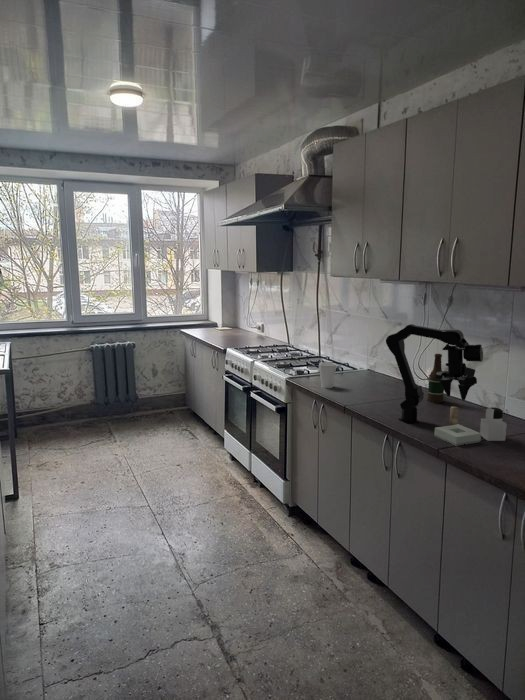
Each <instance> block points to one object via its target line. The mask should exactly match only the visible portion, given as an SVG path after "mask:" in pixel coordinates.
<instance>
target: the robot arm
mask: <svg viewBox="0 0 525 700" xmlns="http://www.w3.org/2000/svg"><path fill="white" fill-rule="evenodd" d="M411 335H412V336H418V337H419V336H420V337H424V338H429V339H433V340H434V339H435V340H438V341H440V342H443V343H445V346H443V348H441V349H442V351H447V363H445V367H447V370H442V371H440V372H437V373H436V379H438V381H439V382H440V384H441V385H442V387H443V389H444V392H445V394H446V396H447V397H451V387H452V383H453V381H457V383H459V384H458V385H457V387H458V391H459V394H460V397H461V401H462V402H463V401H466V398H467V395H468V392H469V390H470V388H471V387H473V386H474V385H476V384H477V383H478V379H477V377H476V376H475V374H476V369H475V368H472V367H468V366H467V364H466V363H465V362H464V360H466V362H476V363H477V362H483V360H484V351H483V348H482V347H483V346H482V344H479V343H478V344H470V343H469V342H468V341H467V340H466V338H465V337H464V333H463V332H462V330H460V329H438V328H432V327H427V326H421V325H415V324H414V323H413V324H407V325H406V326H405V327H404V328H402V329H400V330H398V331H397V332H395V333H392V334H389V335H388V336H386V339H385V344H386V346H387V348H388V350H389V352H391V353H392V355H393V356H394V358H395V362H396V365H397V368H398V370H399V373H400V376H401V378H402V383H403V385H404V397H405V399H404V400H403V401H402V402H401V403H400V404H399V406H400V408H401V417H400V418H398V420H399V421H401V422H404V423H406V424H414V423H420V420H419V419H418V408H417V407H418V406H419V405H420V404H421V403H422V402H423V400H424V396H425V393H424V391H423V387H422V385H419V386H418V384H417V383H416V382H415V379H414V375H413V373H412V370H411V367H410V364H409V362H408V358H407V356H406V352H405V347H406V346H405V344H406V343H405V340H406V339H408V338H409V337H410V336H411Z"/></svg>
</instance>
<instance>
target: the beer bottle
mask: <svg viewBox="0 0 525 700" xmlns="http://www.w3.org/2000/svg"><path fill="white" fill-rule="evenodd" d="M442 357H443V354H441V353H435V354H434V360H433V361H434V363H433V369H432V370H431V372H430V374H429V378H428V390H427V402H429V401H430V402H429V403H432V402H433V403H432V404H442V403H443V402H444V395H445V394H444V392H445V391H444V389H443V387H442V385H441V384H440V382H439V381H438V379H436V373H437V372H440V371H443V369H442ZM441 402H442V403H441Z"/></svg>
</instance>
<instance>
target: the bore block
mask: <svg viewBox="0 0 525 700" xmlns="http://www.w3.org/2000/svg"><path fill="white" fill-rule="evenodd" d="M434 437H435V438H437V439H440V440H442V441H444V442H446V441H447V443H448V442H449V444H450V443H451V445H452V446H455V447H458V446H465V445H470V444H476V443H481V442H482V436H481V433H480V431H479V432H478V431H477V430H473V429H471V428H469V427H467V426H463V425H462V424H459V423H458V424H457V425H450V426H449V425H446V426H443V425H442V426H437V427H434ZM464 444H465V445H464Z"/></svg>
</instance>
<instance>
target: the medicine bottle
mask: <svg viewBox="0 0 525 700" xmlns="http://www.w3.org/2000/svg"><path fill="white" fill-rule="evenodd" d="M503 414H504V411H503V410H502V409H501V408H499V407H488V408H486V409H485V417H483V418H480V427H479V433H481V438H483V439H484V440H486V441H488V442H505V441H506V435H507V426H508V425H507V422H505V421H503V416H504V415H503Z"/></svg>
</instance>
